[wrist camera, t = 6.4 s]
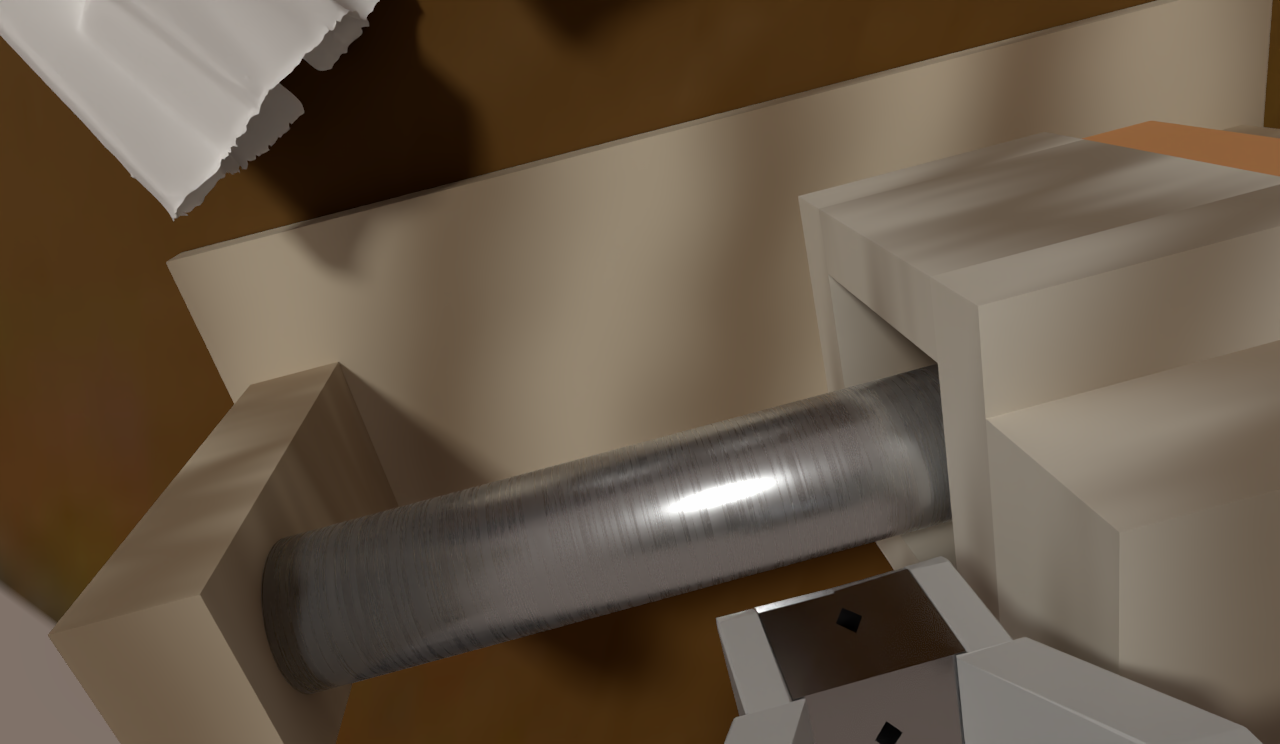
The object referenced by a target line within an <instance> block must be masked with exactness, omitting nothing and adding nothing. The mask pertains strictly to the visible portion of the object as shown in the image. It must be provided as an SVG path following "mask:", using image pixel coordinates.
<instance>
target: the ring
mask: <svg viewBox="0 0 1280 744" xmlns="http://www.w3.org/2000/svg"><path fill="white" fill-rule="evenodd" d="M1082 139H1085V140H1090V141H1095V142H1101V143H1106V144H1111V145H1116V146H1122V147H1127V148H1132V149H1138V150H1143V151H1148V152H1153V153H1159V154H1164V155H1169V156H1174V157H1180V158H1185V159H1190V160H1195V161H1201V162H1206V163H1211V164H1216V165H1222V166H1227V167H1232V168H1237V169H1243V170H1248V171H1253V172H1258V173H1264V174H1269V175H1274V176H1280V138H1273V137H1266V136H1259V135H1252V134H1245V133H1237V132H1230V131H1223V130H1216V129H1209V128H1202V127H1194V126H1187V125H1180V124H1173V123H1166V122H1158V121H1147V122H1143V123H1139V124H1136V125H1132V126H1128V127H1124V128H1120V129H1116V130H1113V131H1109V132H1105V133H1101V134H1097V135H1094V136H1090V137H1086V138H1082Z"/></svg>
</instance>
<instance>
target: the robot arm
mask: <svg viewBox="0 0 1280 744" xmlns="http://www.w3.org/2000/svg"><path fill="white" fill-rule="evenodd" d="M716 622H717V628H718V632H719V636H720V640H721V644H722V648H723V652H724V656H725V661H726V665H727V669H728V673H729V677H730V681H731V685H732V689H733V693H734V696H735V700H736V704H737V708H738V712H739V716H740V717H736V718H734V720H733V722H732V725H731V727H730V730H729V732H728V735H727V737H726V740H725V742H724V744H1263V743H1262V742H1261V741H1260V740H1259V739H1257V738H1256V737H1255V736H1254V735H1253V734H1252V733H1251V732H1250V731H1249V730H1248V729H1247V728H1246V727H1244V726H1242V725H1239V724H1237V723H1234V722H1232V721H1229V720H1227V719H1225V718H1222V717H1220V716H1217V715H1215V714H1212V713H1210V712H1208V711H1205V710H1203V709H1200V708H1198V707H1195V706H1193V705H1190V704H1188V703H1186V702H1183V701H1181V700H1178V699H1176V698H1173V697H1171V696H1169V695H1166V694H1164V693H1161V692H1159V691H1156V690H1154V689H1152V688H1149V687H1147V686H1144V685H1142V684H1139V683H1137V682H1134V681H1132V680H1130V679H1127V678H1125V677H1122V676H1120V675H1117V674H1115V673H1113V672H1110V671H1108V670H1105V669H1103V668H1100V667H1098V666H1095V665H1093V664H1091V663H1088V662H1086V661H1083V660H1081V659H1078V658H1076V657H1074V656H1071V655H1069V654H1066V653H1064V652H1061V651H1059V650H1057V649H1054V648H1052V647H1049V646H1047V645H1044V644H1042V643H1039V642H1037V641H1035V640H1032V639H1030V638H1027V637H1023V638H1019V639H1015V640H1013V638H1012V637H1011V636H1010V635H1009V633H1008V632H1007V631H1006V630H1005V628H1004V627H1003V626H1002V625H1001V624H1000V622H999V621H998V620H997V619H996V617H995V616H994V615H993V614H992V612H991V611H990V610H989V609H988V608H987V606H986V605H985V604H984V603H983V601H982V600H981V599H980V598H979V597H978V595H977V594H976V593H975V592H974V590H973V589H972V588H971V587H970V585H969V584H968V583H967V582H966V581H965V579H964V578H963V577H962V576H961V574H960V573H959V572H958V571H957V569H956V568H955V567H954V566H953V565H952V563H951V562H950V561H949V560H948V559H947V558H944V557H942V556H939V557H936V558H932V559H929V560H926V561H922V562H919V563H916V564H912V565H909V566H905V567H904V568H903V569H898V570H894V571H891V572H887V573H884V574H880V575H877V576H873V577H870V578H866V579H863V580H859V581H856V582H852V583H849V584H845V585H841V586H838V587H834V588H831V589H827V590H823V591H819V592H815V593H811V594H807V595H803V596H799V597H795V598H791V599H787V600H783V601H779V602H775V603H771V604H767V605H763V606H759V607H755V610H754V609H750V610H746V611H742V612H738V613H734V614H730V615H726V616H722V617H718V618H716Z"/></svg>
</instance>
